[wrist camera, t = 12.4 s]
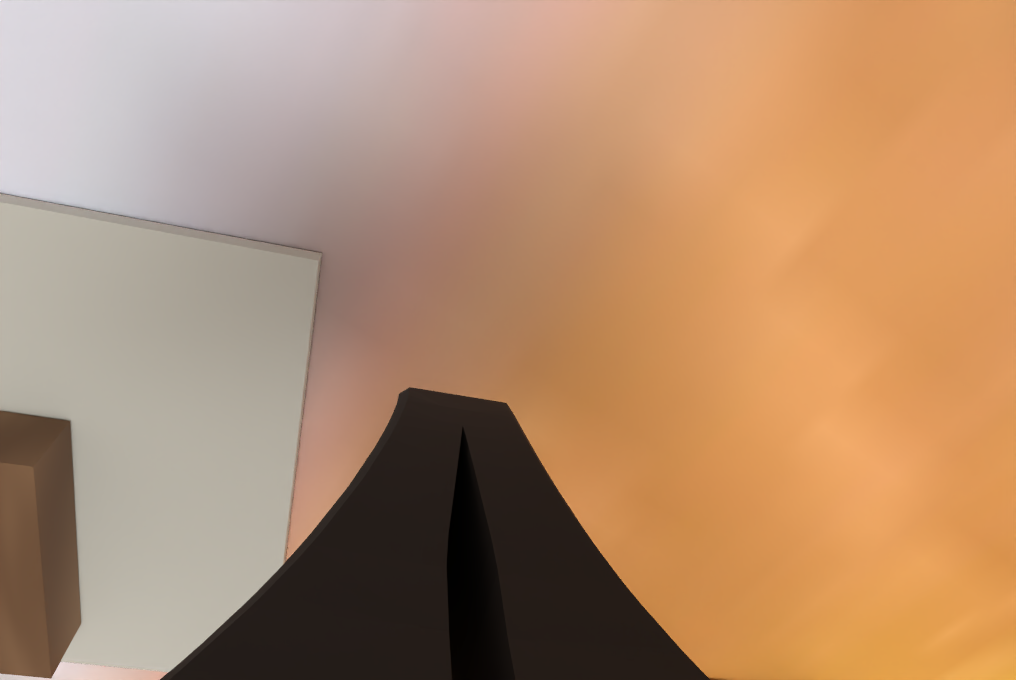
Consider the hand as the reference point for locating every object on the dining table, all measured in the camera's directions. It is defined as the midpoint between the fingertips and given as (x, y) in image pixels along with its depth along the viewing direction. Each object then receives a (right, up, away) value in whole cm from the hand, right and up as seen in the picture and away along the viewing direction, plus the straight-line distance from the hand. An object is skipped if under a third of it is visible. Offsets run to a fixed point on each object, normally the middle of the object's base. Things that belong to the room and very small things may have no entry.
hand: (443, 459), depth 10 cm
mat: (-14, -2, +12) cm, 18 cm away
